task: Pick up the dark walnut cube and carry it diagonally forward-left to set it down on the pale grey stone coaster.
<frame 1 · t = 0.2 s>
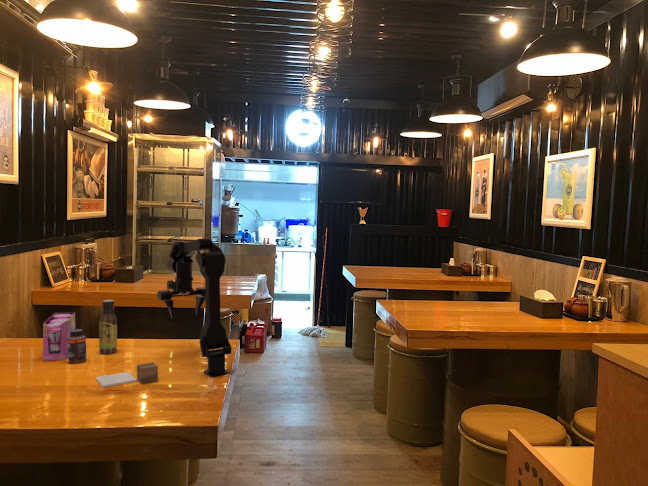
hand: (184, 316, 194), 14 cm above the table, tool pointing down, fingers open, 9 cm apart
supplement bottle: (77, 362, 186), on the table
sauce bottle: (108, 352, 198), on the table
walnut cube: (147, 381, 164), on the table
stone coaster: (116, 380, 165), on the table
gum box: (60, 353, 198), on the table
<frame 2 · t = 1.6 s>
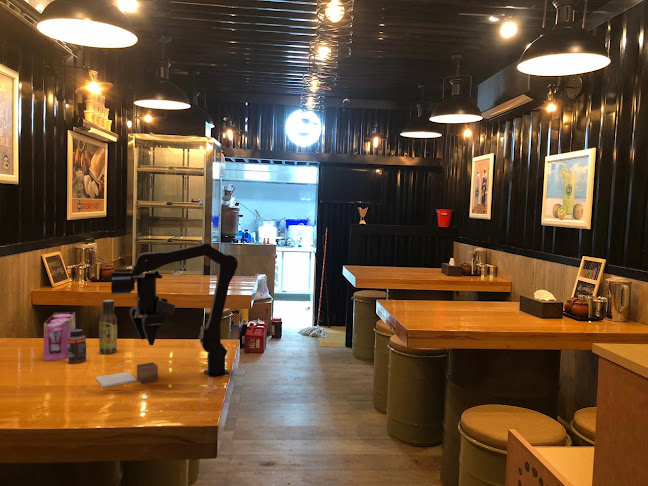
hand: (147, 342, 164), 12 cm above the table, tool pointing down, fingers open, 9 cm apart
nothing on the table moved.
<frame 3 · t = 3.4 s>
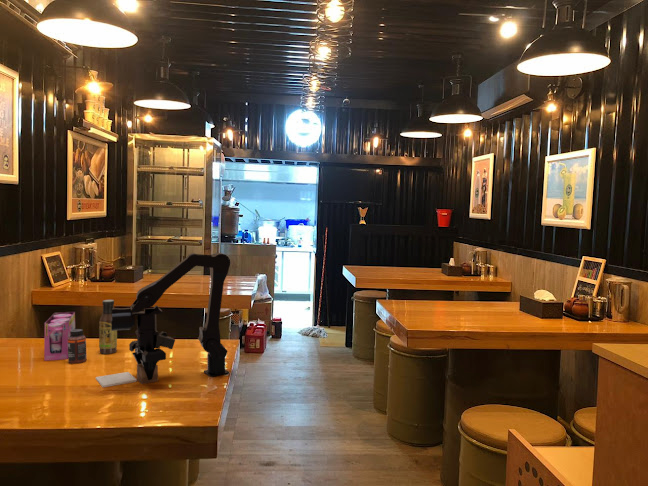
hand: (147, 377, 164), 1 cm above the table, tool pointing down, fingers closed on walnut cube, 5 cm apart
walnut cube: (147, 380, 164), on the table, touching gripper
everything else where it was.
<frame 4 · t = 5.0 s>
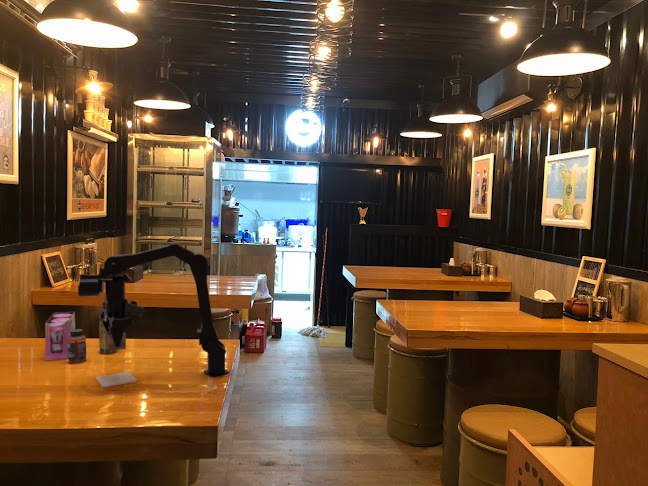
hand: (115, 345, 164), 11 cm above the table, tool pointing down, fingers closed on walnut cube, 5 cm apart
walnut cube: (115, 348, 164), point 10 cm above the table, touching gripper
everything else where it was.
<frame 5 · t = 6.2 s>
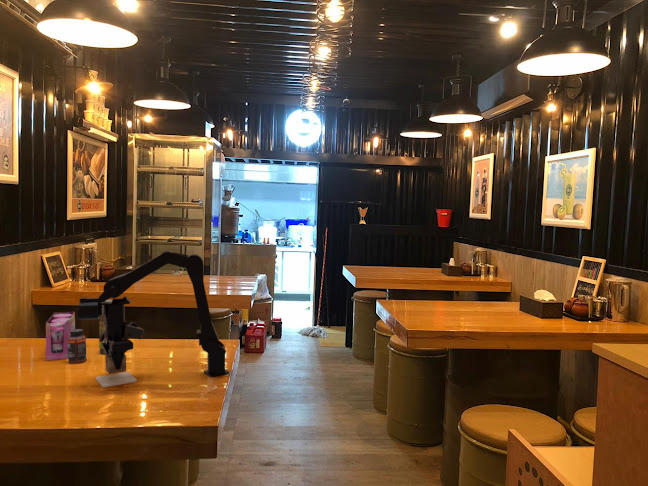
hand: (116, 367, 164), 4 cm above the table, tool pointing down, fingers closed on walnut cube, 5 cm apart
walnut cube: (116, 370, 164), point 3 cm above the table, touching gripper
everything else where it was.
when the fingers open (3 cm above the table, at t = 6.8 s): walnut cube drops 1 cm, resting on stone coaster.
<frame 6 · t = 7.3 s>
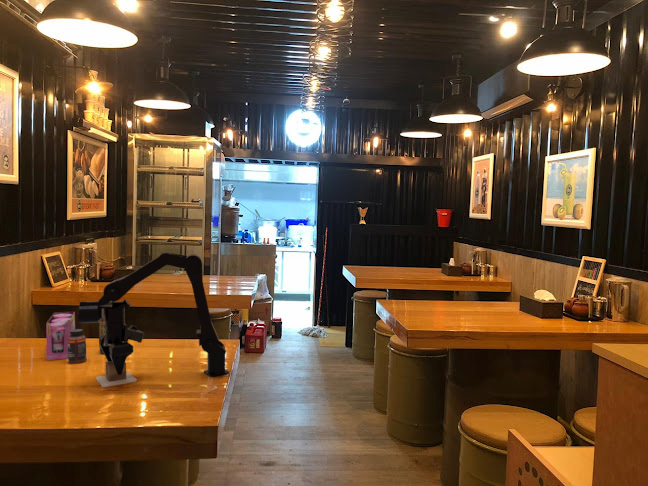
hand: (116, 370, 165), 3 cm above the table, tool pointing down, fingers open, 9 cm apart
walnut cube: (116, 378, 165), point 1 cm above the table, touching stone coaster
everything else where it was.
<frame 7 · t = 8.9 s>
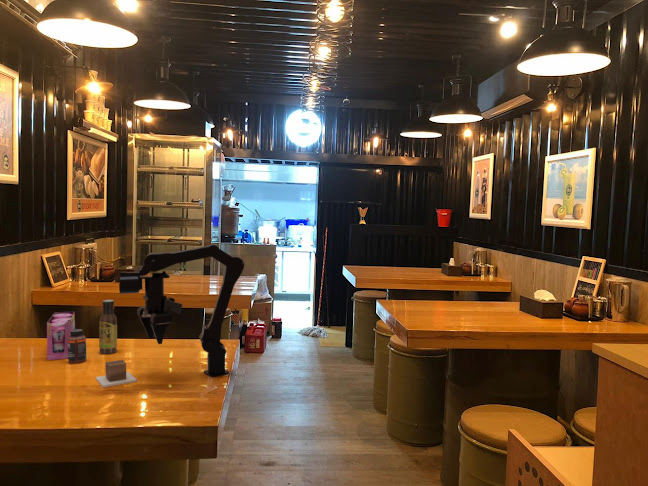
hand: (155, 341, 166), 12 cm above the table, tool pointing down, fingers open, 9 cm apart
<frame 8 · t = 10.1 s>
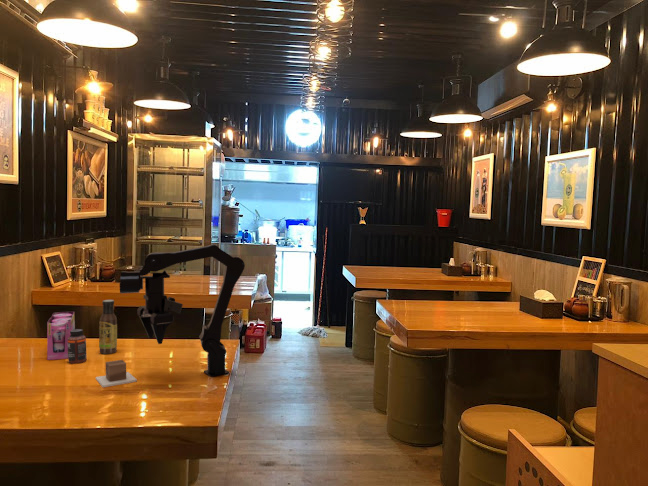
hand: (155, 340, 166), 12 cm above the table, tool pointing down, fingers open, 9 cm apart
at the end: walnut cube inside the target area on the stone coaster (0.0 cm from its centre), point 0.6 cm above the stone coaster's base; the gripper is holding nothing; walnut cube tilted 0° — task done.
